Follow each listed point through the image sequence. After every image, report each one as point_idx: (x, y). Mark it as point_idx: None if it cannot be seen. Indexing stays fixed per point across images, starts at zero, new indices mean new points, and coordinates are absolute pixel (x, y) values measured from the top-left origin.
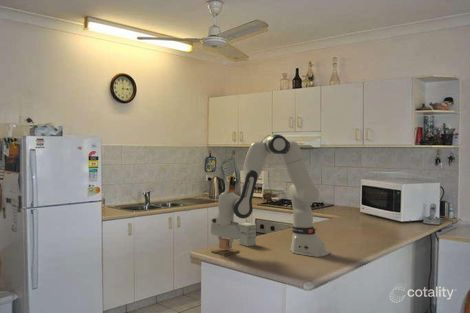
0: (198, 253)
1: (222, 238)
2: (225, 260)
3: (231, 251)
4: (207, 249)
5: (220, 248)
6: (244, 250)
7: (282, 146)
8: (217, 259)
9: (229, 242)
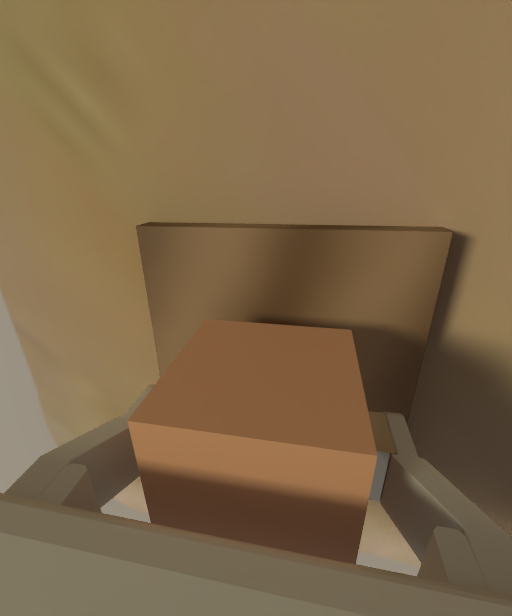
0: (139, 495)
1: (156, 506)
2: None
3: (374, 351)
4: (63, 367)
5: (157, 320)
6: (459, 31)
7: None
8: (392, 558)
9: (401, 522)
